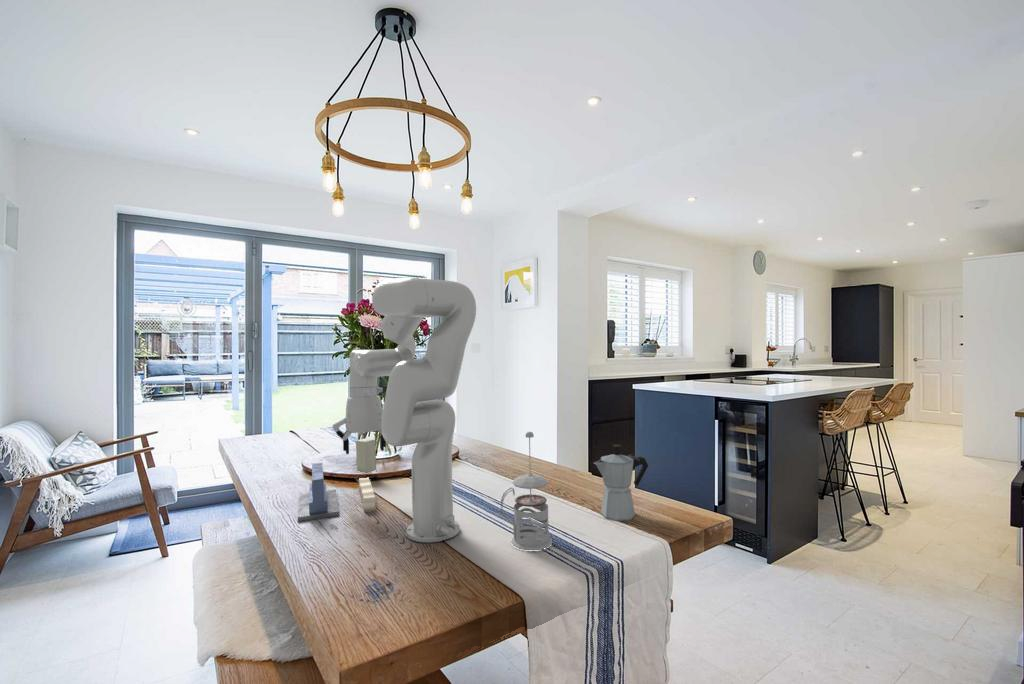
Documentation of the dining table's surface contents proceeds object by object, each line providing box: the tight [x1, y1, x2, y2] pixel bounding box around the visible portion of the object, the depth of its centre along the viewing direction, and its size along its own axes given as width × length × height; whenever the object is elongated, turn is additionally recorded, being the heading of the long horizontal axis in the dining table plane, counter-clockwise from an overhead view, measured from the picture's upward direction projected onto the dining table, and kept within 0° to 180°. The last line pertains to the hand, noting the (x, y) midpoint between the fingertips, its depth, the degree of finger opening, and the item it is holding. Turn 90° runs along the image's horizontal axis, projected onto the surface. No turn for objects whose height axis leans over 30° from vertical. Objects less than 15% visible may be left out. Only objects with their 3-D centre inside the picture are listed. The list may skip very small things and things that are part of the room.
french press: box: [500, 431, 553, 550], centre depth 108 cm, size 10×12×25 cm
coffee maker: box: [593, 444, 649, 522], centre depth 124 cm, size 15×9×18 cm, turn 102°
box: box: [355, 438, 377, 473], centre depth 161 cm, size 5×4×13 cm
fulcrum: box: [297, 462, 340, 523], centre depth 134 cm, size 20×10×10 cm, turn 22°
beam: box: [358, 477, 376, 513], centre depth 139 cm, size 20×3×4 cm, turn 21°
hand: (364, 451), depth 140 cm, fingers open, 9 cm apart
